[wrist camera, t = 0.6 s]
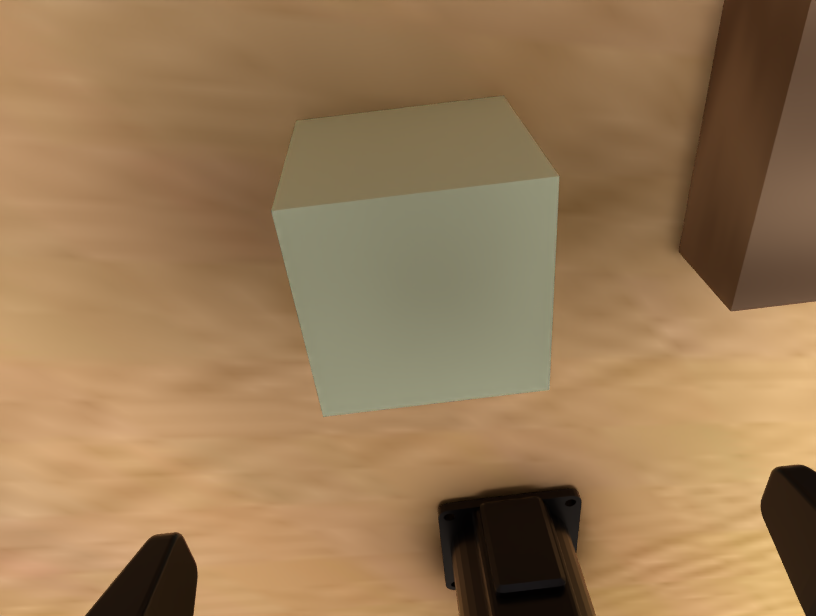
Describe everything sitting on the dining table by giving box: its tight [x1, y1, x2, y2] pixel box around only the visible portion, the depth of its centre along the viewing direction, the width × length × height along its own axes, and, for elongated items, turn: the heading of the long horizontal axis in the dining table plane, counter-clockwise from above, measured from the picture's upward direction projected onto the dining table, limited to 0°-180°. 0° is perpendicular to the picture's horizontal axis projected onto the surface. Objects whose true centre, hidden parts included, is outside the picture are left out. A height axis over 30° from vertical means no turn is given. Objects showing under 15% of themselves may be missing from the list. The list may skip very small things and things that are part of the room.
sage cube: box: [271, 96, 559, 417], centre depth 17 cm, size 6×6×6 cm
